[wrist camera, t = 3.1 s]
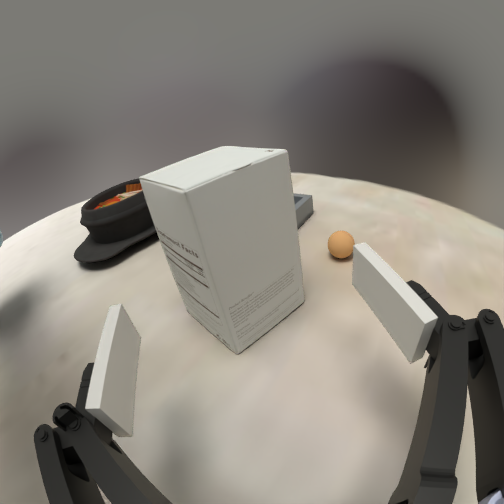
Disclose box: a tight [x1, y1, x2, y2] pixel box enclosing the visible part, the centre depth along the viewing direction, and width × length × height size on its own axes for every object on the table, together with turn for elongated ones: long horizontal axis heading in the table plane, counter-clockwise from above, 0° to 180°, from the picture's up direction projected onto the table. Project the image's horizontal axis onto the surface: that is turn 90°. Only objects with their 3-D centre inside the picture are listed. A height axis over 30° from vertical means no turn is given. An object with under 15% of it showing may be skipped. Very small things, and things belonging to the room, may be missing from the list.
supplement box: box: [139, 146, 304, 354], centre depth 25 cm, size 9×9×15 cm
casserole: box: [74, 179, 157, 263], centre depth 48 cm, size 25×19×8 cm
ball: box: [328, 231, 355, 258], centre depth 32 cm, size 3×3×3 cm
